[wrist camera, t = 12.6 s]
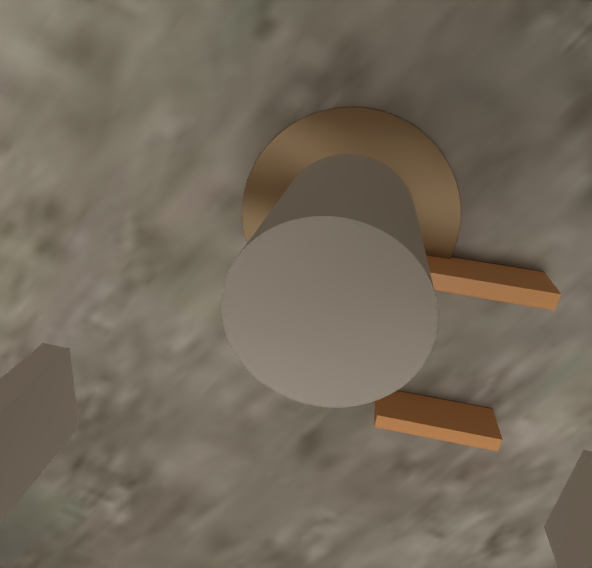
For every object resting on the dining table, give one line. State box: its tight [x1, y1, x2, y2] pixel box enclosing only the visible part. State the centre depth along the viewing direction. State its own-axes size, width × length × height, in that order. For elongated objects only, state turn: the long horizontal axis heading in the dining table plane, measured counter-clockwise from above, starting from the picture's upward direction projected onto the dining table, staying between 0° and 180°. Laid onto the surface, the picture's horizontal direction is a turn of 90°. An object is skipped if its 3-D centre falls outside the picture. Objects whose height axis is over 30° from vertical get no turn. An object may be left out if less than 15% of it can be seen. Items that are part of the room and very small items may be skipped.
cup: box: [221, 154, 438, 407], centre depth 23 cm, size 8×8×12 cm
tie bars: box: [374, 255, 561, 451], centre depth 30 cm, size 12×8×3 cm
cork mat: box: [242, 107, 461, 259], centre depth 29 cm, size 13×13×1 cm
